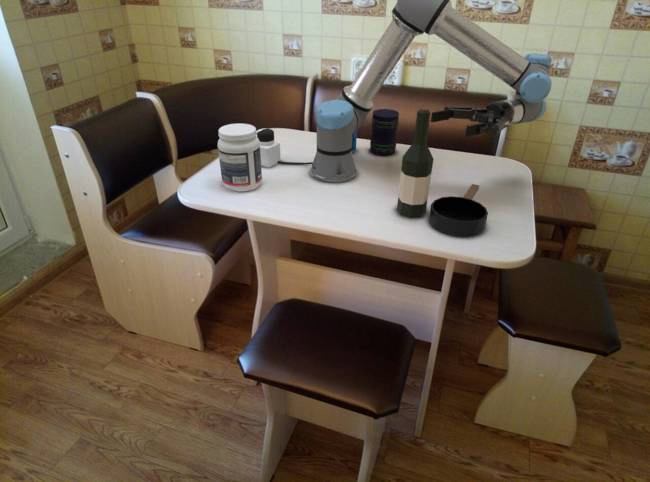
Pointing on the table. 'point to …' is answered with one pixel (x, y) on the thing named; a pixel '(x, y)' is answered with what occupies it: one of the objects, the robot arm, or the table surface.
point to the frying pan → (459, 214)
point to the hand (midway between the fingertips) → (448, 124)
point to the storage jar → (384, 132)
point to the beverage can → (354, 141)
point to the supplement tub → (239, 157)
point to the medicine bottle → (268, 148)
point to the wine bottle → (416, 171)
